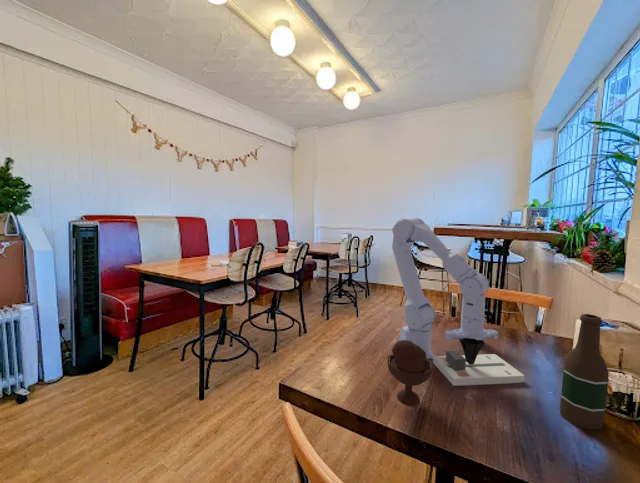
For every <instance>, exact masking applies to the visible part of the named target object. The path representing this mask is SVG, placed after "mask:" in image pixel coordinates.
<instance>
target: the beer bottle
mask: <svg viewBox="0 0 640 483" xmlns="http://www.w3.org/2000/svg"><path fill="white" fill-rule="evenodd" d="M579 319H580V321H581V323H580V326H579V331H578V338H577V342H576V345H575V347H574V348H572V349H571V350H569V352H568V353H567V354H566V356H565V359H564V363H563V374H562V380H561V381H562V383H561V391H560V404H559V406H560V408H559V414H560V416H561V417H562V418H564V419H565V420H566V421H568V422H569V423H570V424H571V425H573V426H577V427H579V428H582V429H586V430H589V431H592V430H593V431H594V430H596V431H597V430H602V429H603V425H604V421H605V413H606V404H607V397H608V396H607V395H608V388H609V387H608V386H609V369H608V365H607V363H606V360H605V359H604V358H603V355H602V354H601V350H600V341H601V325H603V320H602V317H600V316H598V315H596V314H590V313H582V314H581V315H580V317H579Z"/></svg>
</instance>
